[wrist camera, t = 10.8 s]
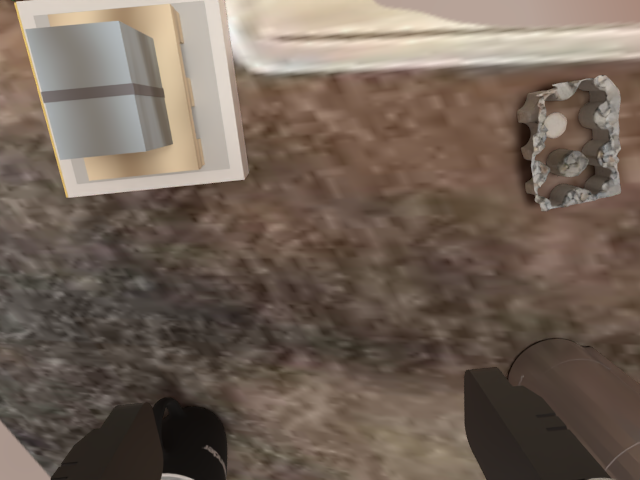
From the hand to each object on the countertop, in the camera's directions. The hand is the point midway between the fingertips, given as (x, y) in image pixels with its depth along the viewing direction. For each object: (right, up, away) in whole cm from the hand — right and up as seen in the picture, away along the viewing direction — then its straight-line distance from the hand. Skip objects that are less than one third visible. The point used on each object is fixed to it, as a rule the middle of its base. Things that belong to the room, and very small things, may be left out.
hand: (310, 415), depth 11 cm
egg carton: (+22, +13, +29) cm, 39 cm away
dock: (-14, +16, +25) cm, 33 cm away
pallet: (-13, +15, +21) cm, 29 cm away
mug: (-14, -15, +35) cm, 40 cm away
